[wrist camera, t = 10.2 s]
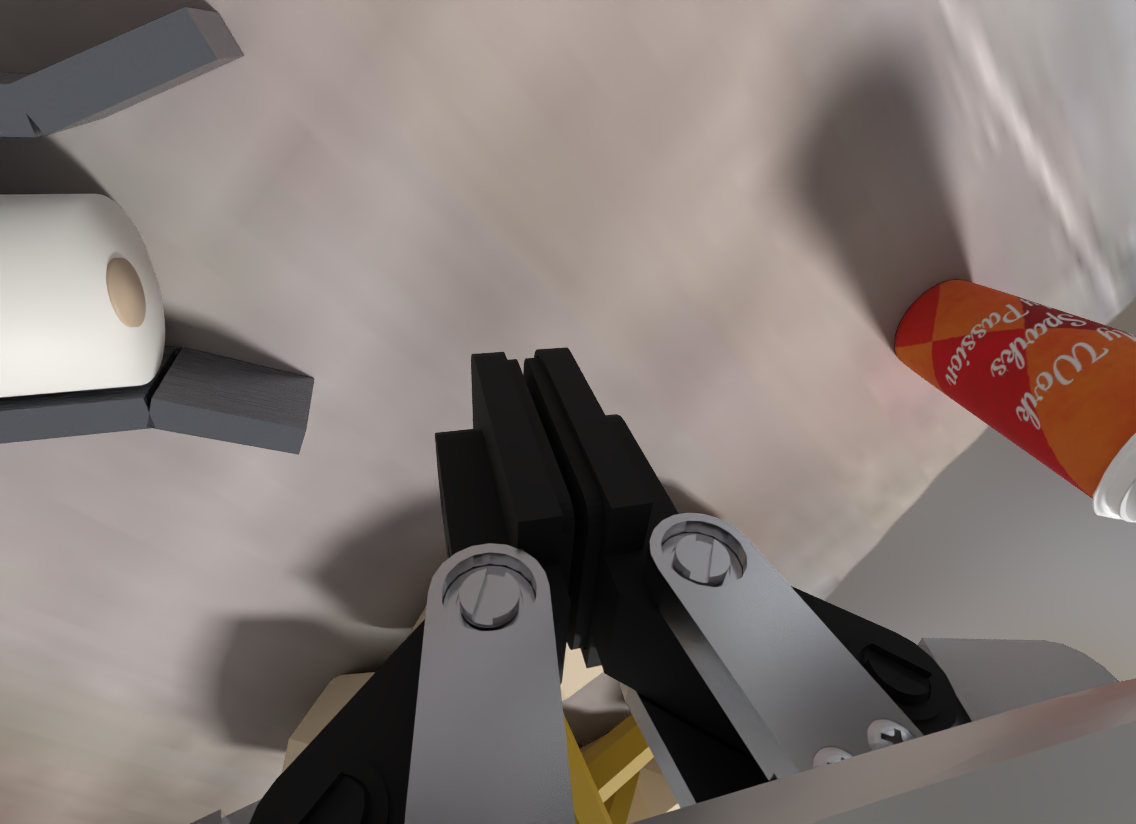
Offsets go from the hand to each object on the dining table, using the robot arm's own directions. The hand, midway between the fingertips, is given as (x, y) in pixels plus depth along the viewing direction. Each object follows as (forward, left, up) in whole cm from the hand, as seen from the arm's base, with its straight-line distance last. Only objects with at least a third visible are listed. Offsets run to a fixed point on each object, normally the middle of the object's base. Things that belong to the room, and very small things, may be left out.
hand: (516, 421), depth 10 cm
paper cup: (+7, +29, -15) cm, 33 cm away
